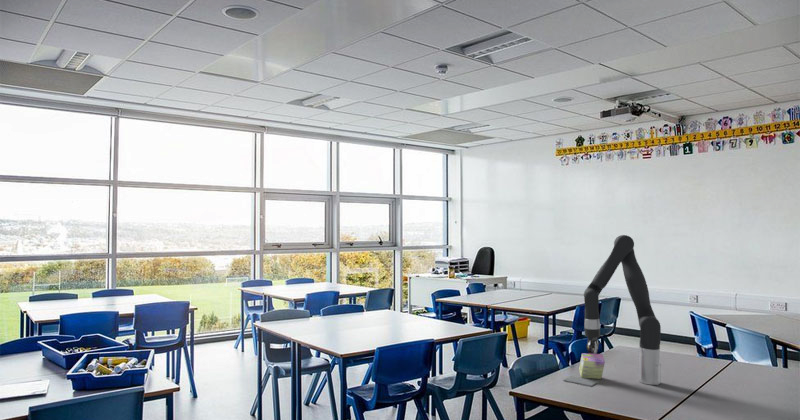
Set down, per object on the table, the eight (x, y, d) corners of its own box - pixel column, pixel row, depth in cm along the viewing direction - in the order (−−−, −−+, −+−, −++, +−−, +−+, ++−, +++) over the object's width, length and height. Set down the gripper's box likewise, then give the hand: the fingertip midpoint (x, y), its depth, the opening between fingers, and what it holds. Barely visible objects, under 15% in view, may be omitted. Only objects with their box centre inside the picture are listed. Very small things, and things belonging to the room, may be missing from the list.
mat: (598, 382, 266) (598, 381, 266) (591, 386, 258) (591, 385, 258) (571, 377, 275) (571, 375, 275) (563, 381, 267) (563, 379, 267)
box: (599, 370, 277) (602, 353, 272) (601, 379, 273) (605, 362, 267) (578, 369, 279) (581, 352, 273) (580, 378, 274) (583, 361, 268)
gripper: (594, 330, 270) (595, 364, 269) (603, 326, 280) (605, 359, 279) (580, 328, 274) (581, 362, 274) (589, 324, 284) (590, 357, 284)
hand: (593, 361), depth 276 cm, fingers closed
